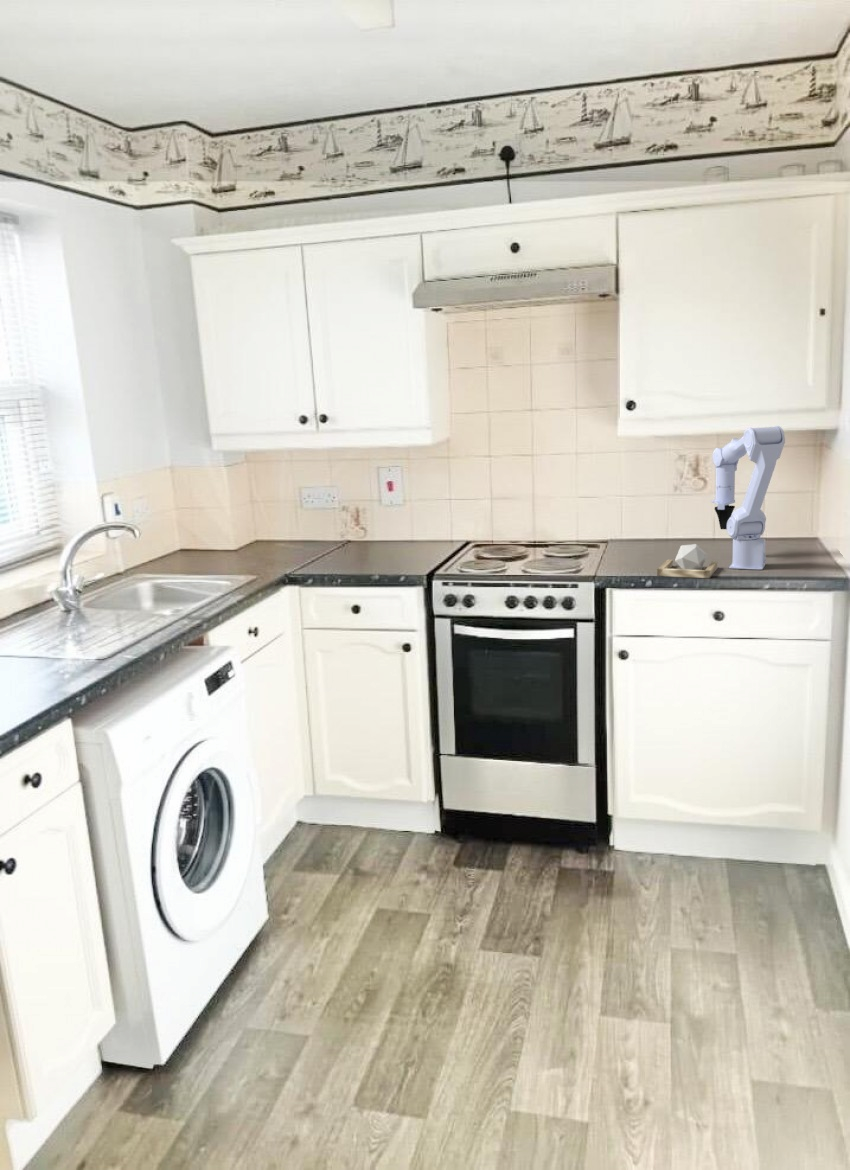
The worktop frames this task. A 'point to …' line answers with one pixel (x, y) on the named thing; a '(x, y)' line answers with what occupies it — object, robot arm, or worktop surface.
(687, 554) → the die
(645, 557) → the worktop surface
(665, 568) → the corral
